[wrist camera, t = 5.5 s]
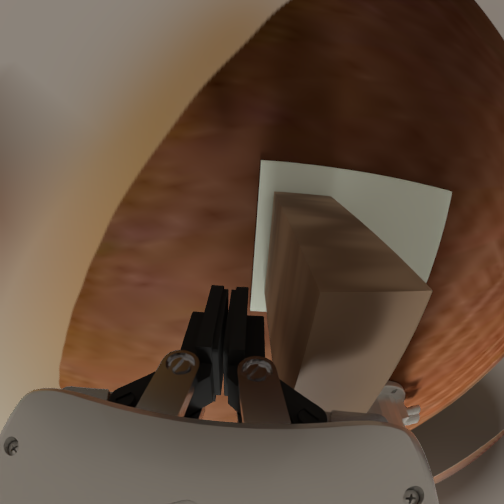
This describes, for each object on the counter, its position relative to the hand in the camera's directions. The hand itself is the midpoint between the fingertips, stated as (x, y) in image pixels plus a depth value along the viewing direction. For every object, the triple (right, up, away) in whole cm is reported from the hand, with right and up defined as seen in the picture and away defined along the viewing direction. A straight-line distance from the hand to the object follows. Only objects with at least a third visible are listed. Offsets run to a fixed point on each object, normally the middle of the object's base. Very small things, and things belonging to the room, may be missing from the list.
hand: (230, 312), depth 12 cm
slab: (+4, +3, +7) cm, 9 cm away
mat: (+9, +3, +8) cm, 13 cm away
